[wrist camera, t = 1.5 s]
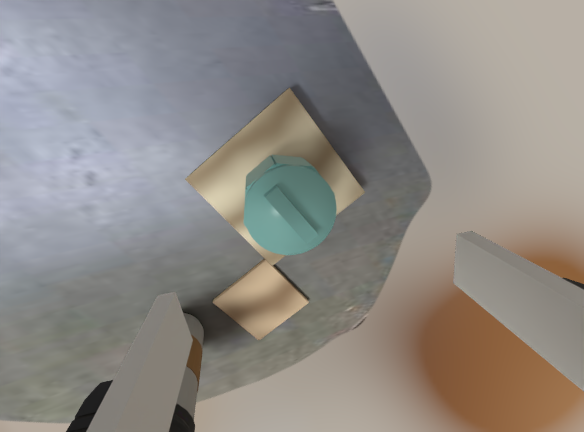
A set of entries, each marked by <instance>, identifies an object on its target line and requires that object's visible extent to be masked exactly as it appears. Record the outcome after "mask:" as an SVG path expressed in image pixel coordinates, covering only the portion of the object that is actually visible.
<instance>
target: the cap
mask: <svg viewBox="0 0 584 432" xmlns="http://www.w3.org/2000/svg"><path fill="white" fill-rule="evenodd" d="M334 194H335V193H334V192H333V191H332V189H331V187H330V186H329V184H328V183H327V182H326V181H325V180H324V179H323V178H322V177H321V175H320V174H319V173H318V171H317V170H316V169H315V167H313V166H312V165H311V164H310V163H309V162H307V161H306V160H305V159H304V158H302V157H293V156H283V155H272V156H271V155H270V156H268V157H267V158H266V159H265V160H264V161H262V162H261V163H260V164H259V165H258V166H257V167H255V168H254V169H253V170H252V171H251V172H250V173H248V174H247V176H246V187H245V205H244V223H243V224H244V226H245V227H246V228H247V229H248V231H249V233H250V235H251V237H252V238H253V239H254V240H255V241H256V242H257V243H258V244H259V245H260V246H261V247H263V248H264V249H266V250H268V251H270V252H273V253H276V254H281V255H295V254H300V253H304V252H306V251H309V250H311V249H313V248H314V247H316V246H317V245H319V244H320V243H321V242H322V241H323V240H324V239H325V238H326V237H327V235H328V234H329V233H330V231H331V229H332V227H333V225H334V222H335V218H336V211H337V208H336V199H335V195H334Z"/></svg>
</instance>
